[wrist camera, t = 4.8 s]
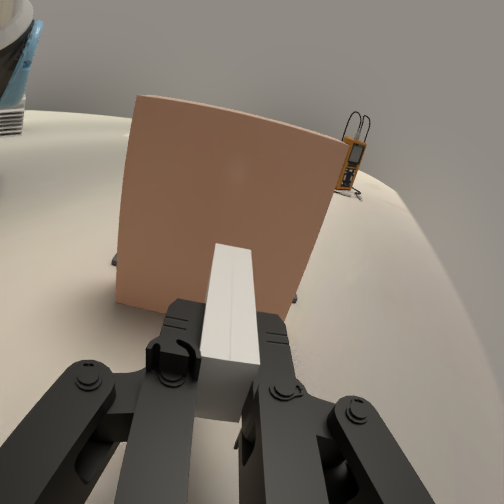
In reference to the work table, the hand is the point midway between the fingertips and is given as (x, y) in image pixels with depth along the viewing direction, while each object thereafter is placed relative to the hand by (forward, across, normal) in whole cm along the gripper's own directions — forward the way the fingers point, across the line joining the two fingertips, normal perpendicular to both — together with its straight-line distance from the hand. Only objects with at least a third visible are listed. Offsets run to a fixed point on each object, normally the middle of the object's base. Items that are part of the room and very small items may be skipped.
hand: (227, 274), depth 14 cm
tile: (+7, -1, -7) cm, 10 cm away
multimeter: (+60, +30, -6) cm, 67 cm away
